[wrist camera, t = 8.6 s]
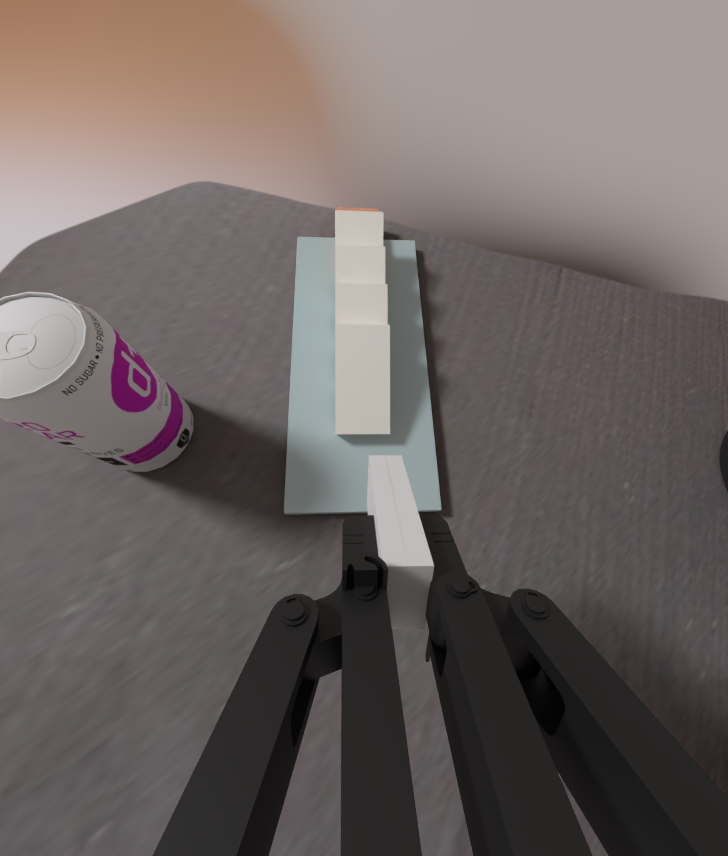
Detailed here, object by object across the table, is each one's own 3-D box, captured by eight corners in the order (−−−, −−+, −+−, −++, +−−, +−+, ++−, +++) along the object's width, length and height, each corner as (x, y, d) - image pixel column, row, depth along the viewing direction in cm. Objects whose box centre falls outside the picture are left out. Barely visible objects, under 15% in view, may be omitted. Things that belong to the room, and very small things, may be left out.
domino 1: (335, 312, 38) (335, 218, 38) (381, 313, 39) (381, 220, 38) (335, 307, 37) (335, 210, 37) (383, 308, 37) (383, 211, 37)
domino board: (412, 248, 44) (414, 240, 43) (438, 511, 33) (441, 509, 32) (298, 245, 43) (297, 236, 42) (285, 514, 32) (283, 513, 31)
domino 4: (335, 433, 34) (335, 328, 34) (387, 433, 34) (387, 329, 34) (335, 434, 32) (335, 323, 32) (390, 434, 32) (389, 324, 32)
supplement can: (195, 388, 36) (102, 277, 22) (197, 467, 33) (90, 399, 19) (109, 398, 35) (-47, 289, 21) (103, 480, 32) (-82, 419, 18)
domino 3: (335, 390, 35) (335, 289, 35) (385, 390, 36) (385, 290, 35) (335, 388, 34) (335, 282, 34) (387, 388, 34) (387, 284, 34)
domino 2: (335, 349, 37) (335, 252, 37) (383, 350, 37) (383, 253, 37) (335, 346, 35) (335, 244, 35) (385, 346, 36) (385, 246, 35)
